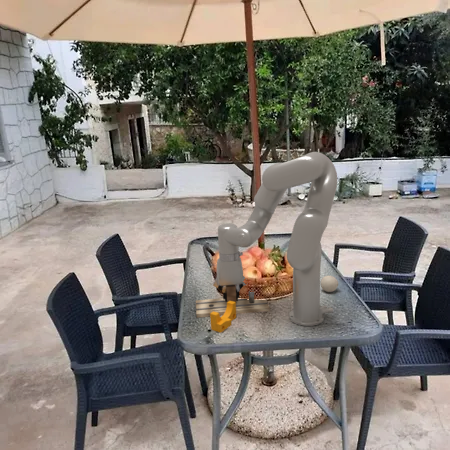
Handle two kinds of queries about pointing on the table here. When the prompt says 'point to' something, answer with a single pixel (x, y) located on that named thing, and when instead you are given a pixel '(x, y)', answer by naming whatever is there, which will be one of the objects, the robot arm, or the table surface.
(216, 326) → the pipe clamp
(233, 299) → the block
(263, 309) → the board
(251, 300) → the fixed leg
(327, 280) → the baseball
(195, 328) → the table surface
